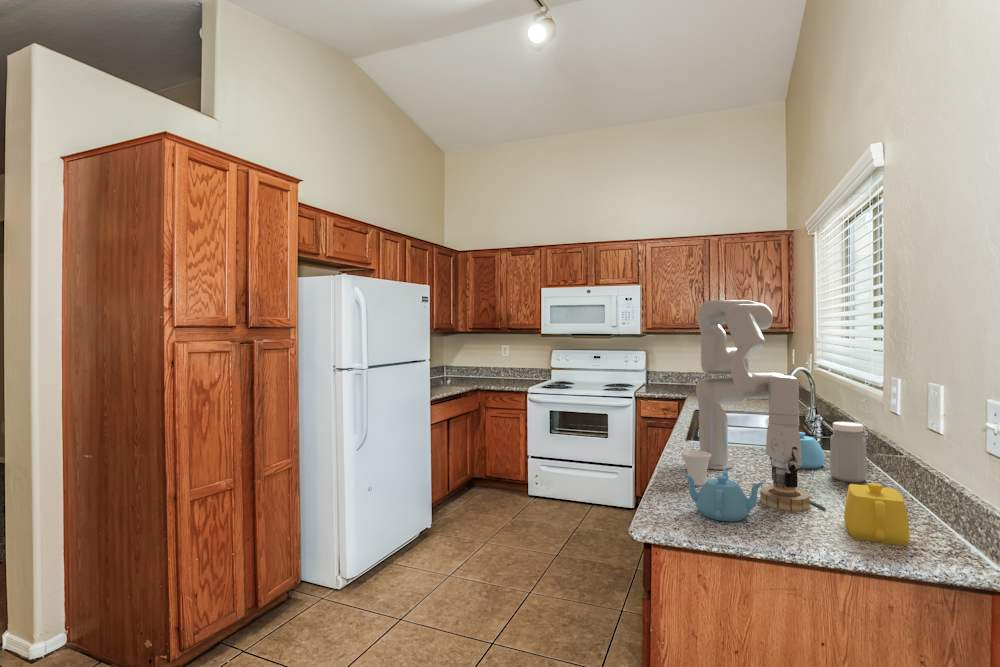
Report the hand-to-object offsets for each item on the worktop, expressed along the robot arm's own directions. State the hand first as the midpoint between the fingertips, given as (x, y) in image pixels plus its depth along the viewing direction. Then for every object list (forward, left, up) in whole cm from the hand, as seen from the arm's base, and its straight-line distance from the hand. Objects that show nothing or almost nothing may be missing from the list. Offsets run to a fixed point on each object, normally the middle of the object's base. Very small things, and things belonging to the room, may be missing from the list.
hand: (784, 483), depth 147 cm
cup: (-20, -17, -6) cm, 27 cm away
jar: (-22, +34, -6) cm, 41 cm away
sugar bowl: (-41, +30, -6) cm, 51 cm away
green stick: (0, +7, -6) cm, 9 cm away
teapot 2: (+21, +10, -6) cm, 24 cm away
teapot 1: (+7, -21, -6) cm, 23 cm away
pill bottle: (0, 0, -2) cm, 2 cm away
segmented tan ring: (0, 0, -6) cm, 6 cm away
